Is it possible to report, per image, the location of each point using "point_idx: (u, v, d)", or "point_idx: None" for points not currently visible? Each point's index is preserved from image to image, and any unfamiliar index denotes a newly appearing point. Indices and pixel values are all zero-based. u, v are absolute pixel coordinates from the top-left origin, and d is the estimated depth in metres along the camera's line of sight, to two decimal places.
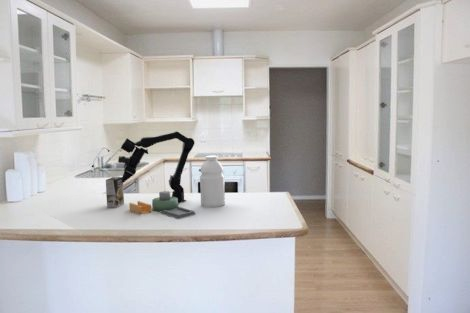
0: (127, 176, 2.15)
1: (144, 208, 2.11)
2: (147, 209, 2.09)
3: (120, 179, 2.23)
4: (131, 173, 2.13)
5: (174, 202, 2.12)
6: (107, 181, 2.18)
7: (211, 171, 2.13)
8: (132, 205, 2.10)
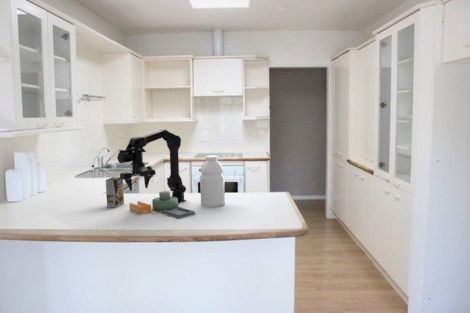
0: None
1: (144, 208, 2.11)
2: (147, 209, 2.09)
3: (120, 179, 2.23)
4: None
5: (174, 202, 2.12)
6: (107, 181, 2.18)
7: (211, 171, 2.13)
8: (132, 205, 2.10)
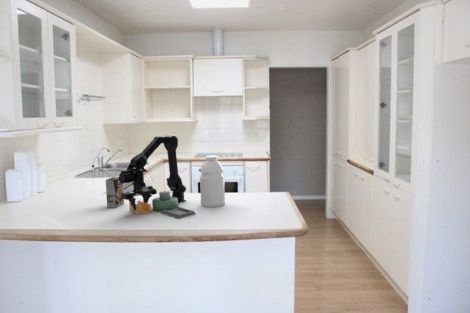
0: None
1: (144, 208, 2.11)
2: (147, 209, 2.09)
3: None
4: None
5: (174, 202, 2.12)
6: (107, 181, 2.18)
7: (211, 171, 2.13)
8: None
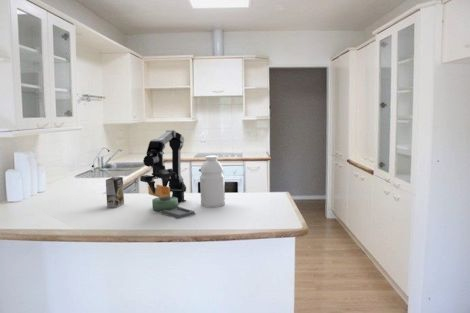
0: None
1: (163, 191, 2.06)
2: (166, 192, 2.04)
3: (120, 179, 2.23)
4: None
5: (174, 202, 2.12)
6: (107, 181, 2.18)
7: (211, 171, 2.13)
8: None
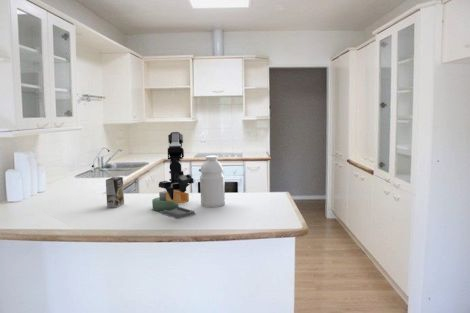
0: None
1: (181, 197, 2.04)
2: (185, 198, 2.01)
3: (120, 179, 2.23)
4: None
5: (174, 202, 2.12)
6: (107, 181, 2.18)
7: (211, 171, 2.13)
8: None
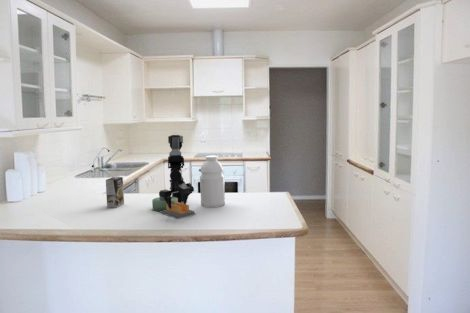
0: None
1: (182, 209, 2.04)
2: (185, 210, 2.02)
3: (120, 179, 2.23)
4: None
5: None
6: (107, 181, 2.18)
7: (211, 171, 2.13)
8: None
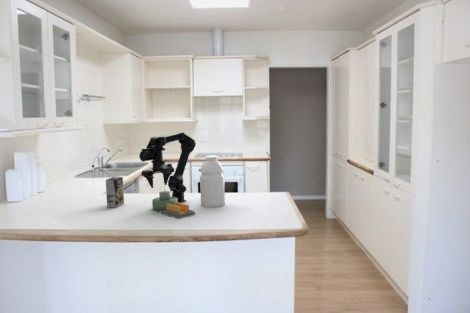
0: None
1: (182, 209, 2.04)
2: (185, 210, 2.02)
3: (120, 179, 2.23)
4: None
5: None
6: (107, 181, 2.18)
7: (211, 171, 2.13)
8: (169, 206, 2.03)
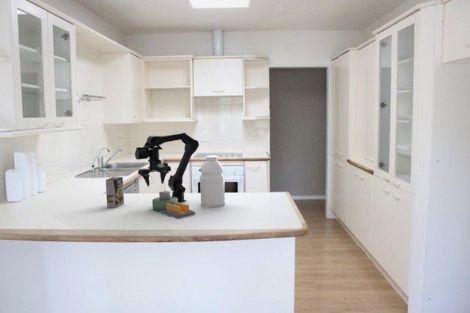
0: None
1: (182, 209, 2.04)
2: (185, 210, 2.02)
3: (120, 179, 2.23)
4: None
5: None
6: (107, 181, 2.18)
7: (211, 171, 2.13)
8: (169, 206, 2.03)
